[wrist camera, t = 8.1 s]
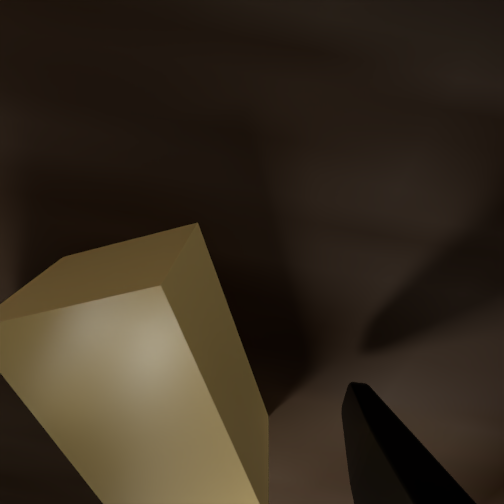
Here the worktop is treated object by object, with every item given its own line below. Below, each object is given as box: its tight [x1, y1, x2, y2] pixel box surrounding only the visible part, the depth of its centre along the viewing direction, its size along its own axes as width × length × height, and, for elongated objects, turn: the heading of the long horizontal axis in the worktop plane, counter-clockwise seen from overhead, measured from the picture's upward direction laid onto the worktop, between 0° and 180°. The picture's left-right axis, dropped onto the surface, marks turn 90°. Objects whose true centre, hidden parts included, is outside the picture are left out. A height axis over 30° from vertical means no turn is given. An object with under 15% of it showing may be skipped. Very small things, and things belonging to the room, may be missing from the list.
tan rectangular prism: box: [0, 223, 269, 504], centre depth 8 cm, size 6×4×3 cm, turn 16°
